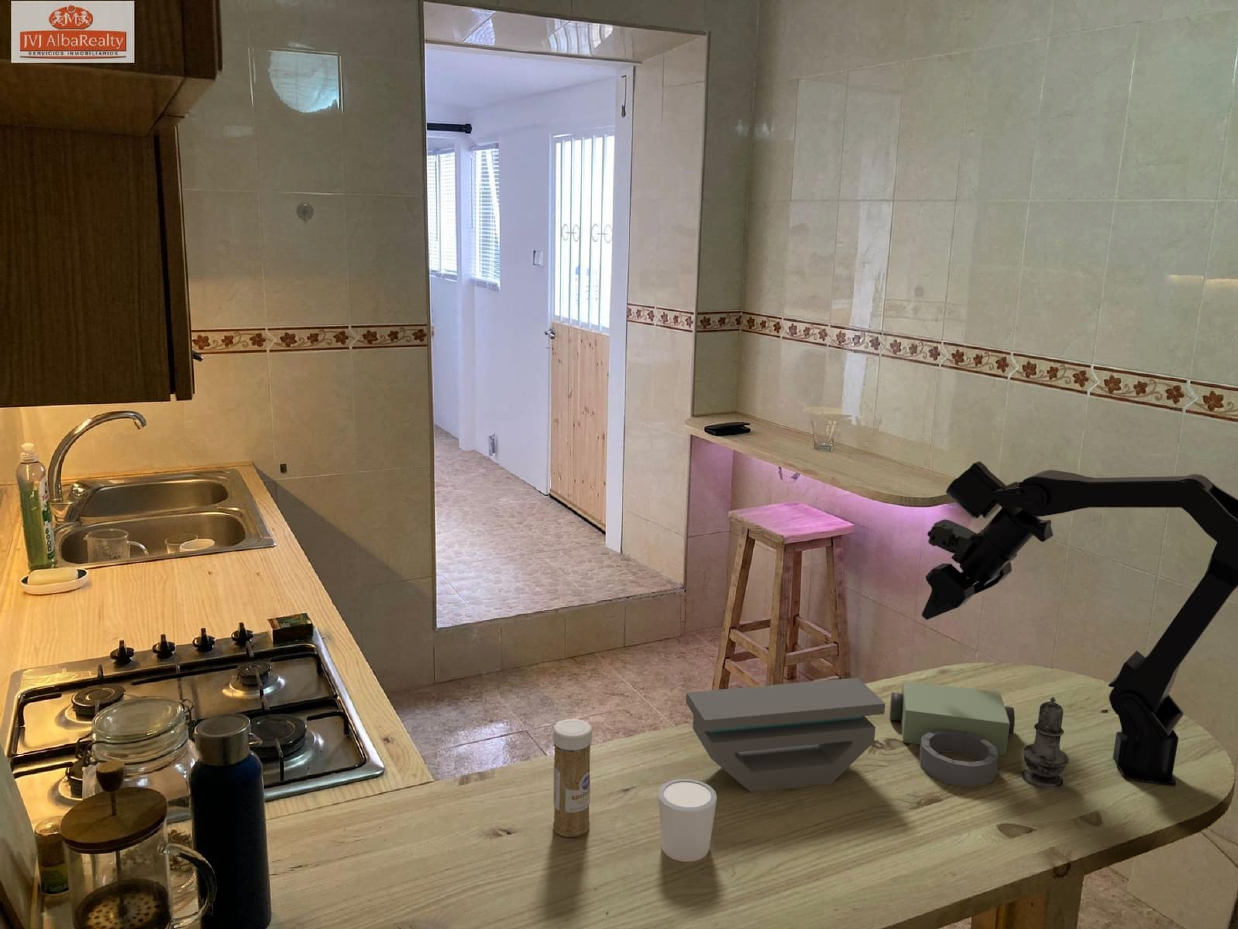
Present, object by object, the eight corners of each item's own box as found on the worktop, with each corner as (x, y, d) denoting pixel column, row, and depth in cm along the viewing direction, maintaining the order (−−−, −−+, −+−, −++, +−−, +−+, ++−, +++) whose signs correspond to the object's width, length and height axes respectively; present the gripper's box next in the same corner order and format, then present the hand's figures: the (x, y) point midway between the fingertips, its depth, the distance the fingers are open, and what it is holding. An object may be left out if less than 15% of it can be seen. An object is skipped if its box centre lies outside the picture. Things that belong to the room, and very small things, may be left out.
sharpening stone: (852, 748, 137) (857, 677, 135) (878, 778, 130) (885, 703, 127) (683, 766, 131) (686, 692, 129) (700, 797, 124) (704, 720, 122)
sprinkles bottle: (582, 842, 114) (584, 739, 111) (546, 834, 115) (547, 732, 112) (595, 821, 118) (597, 720, 115) (560, 813, 120) (561, 714, 117)
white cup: (697, 872, 109) (700, 817, 108) (645, 852, 113) (647, 798, 111) (724, 842, 115) (726, 789, 113) (673, 823, 118) (675, 771, 117)
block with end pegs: (1007, 724, 145) (1011, 693, 144) (1029, 795, 126) (1033, 760, 125) (889, 709, 149) (892, 679, 148) (893, 776, 130) (896, 742, 129)
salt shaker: (1071, 793, 127) (1082, 709, 124) (1023, 787, 128) (1034, 704, 125) (1060, 770, 132) (1071, 689, 130) (1015, 765, 134) (1025, 685, 131)
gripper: (983, 492, 151) (925, 559, 160) (931, 514, 138) (870, 586, 146) (1040, 541, 147) (976, 608, 155) (992, 569, 133) (925, 641, 142)
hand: (937, 609), depth 150 cm, fingers open, 9 cm apart
